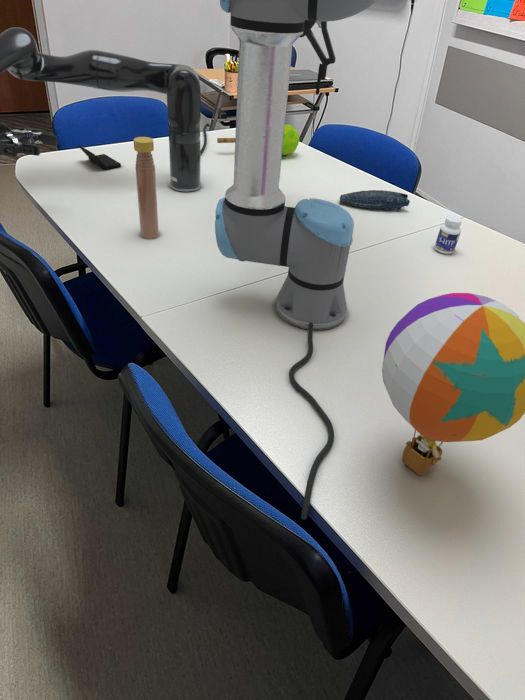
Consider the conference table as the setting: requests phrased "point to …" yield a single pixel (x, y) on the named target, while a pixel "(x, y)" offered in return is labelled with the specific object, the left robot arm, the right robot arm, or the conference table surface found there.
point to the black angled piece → (101, 159)
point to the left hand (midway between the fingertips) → (48, 145)
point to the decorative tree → (288, 141)
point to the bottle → (147, 195)
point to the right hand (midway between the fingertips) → (290, 90)
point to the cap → (143, 144)
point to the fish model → (376, 199)
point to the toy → (455, 372)
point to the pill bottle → (448, 235)
